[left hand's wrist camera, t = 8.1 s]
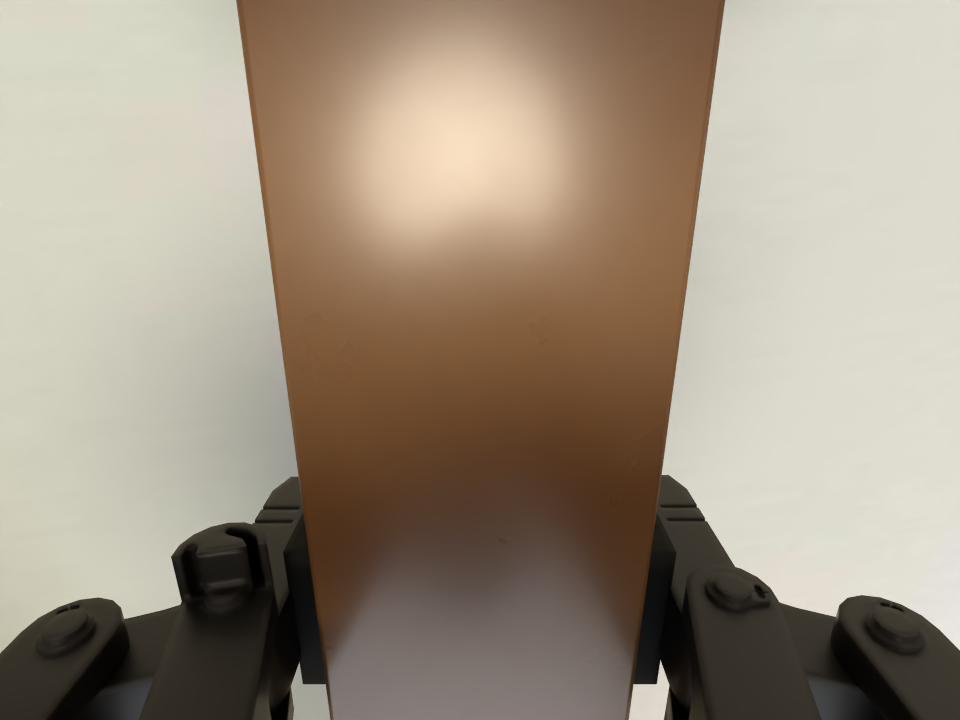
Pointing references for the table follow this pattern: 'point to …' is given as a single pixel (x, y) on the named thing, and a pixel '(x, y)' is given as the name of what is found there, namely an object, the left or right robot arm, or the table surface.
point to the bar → (480, 330)
